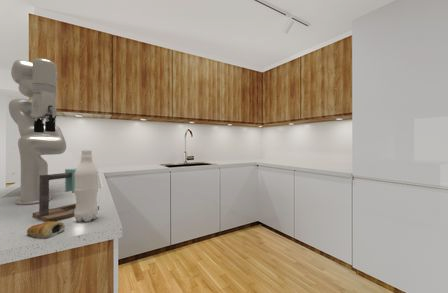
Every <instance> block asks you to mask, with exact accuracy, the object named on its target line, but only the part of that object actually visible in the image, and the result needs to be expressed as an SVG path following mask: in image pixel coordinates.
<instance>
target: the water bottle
mask: <svg viewBox="0 0 448 293" xmlns="http://www.w3.org/2000/svg"><path fill="white" fill-rule="evenodd" d="M80 158H81V159H80V162H79V164H78V166H76V168H77V169H76V171H75V174H74V175H75V189H74V193H73V194H74V195H75V203H76V207H75V209H74V210H73V211H74V219H75V220H76V222H78V223H81V222H82V221H84V222H86V223H87V222H91V221H92V220H95V219H97V217H98V214H99V210H98V207H97V206H98V203H97V201H98V200H97V198H98V192H99V182H98V181H99V171H98V168H97V166H96V165H95V162H93V154H92V150H81V155H80Z"/></svg>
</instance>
